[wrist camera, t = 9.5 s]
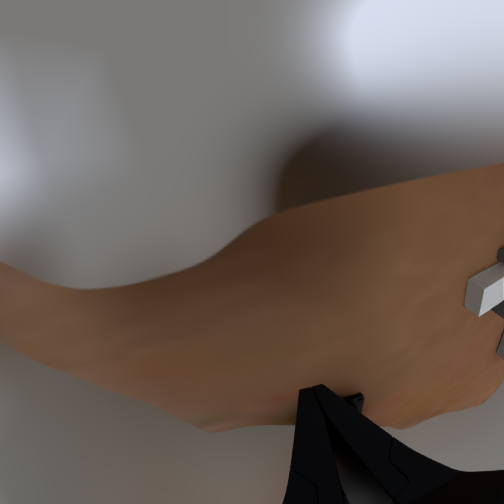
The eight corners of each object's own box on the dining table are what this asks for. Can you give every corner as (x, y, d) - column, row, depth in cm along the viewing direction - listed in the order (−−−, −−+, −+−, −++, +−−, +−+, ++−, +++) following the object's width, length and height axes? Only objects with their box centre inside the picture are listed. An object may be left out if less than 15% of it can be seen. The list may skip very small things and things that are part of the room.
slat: (512, 273, 25) (527, 282, 22) (462, 304, 25) (478, 316, 22) (516, 250, 24) (531, 257, 21) (466, 277, 24) (484, 289, 21)
